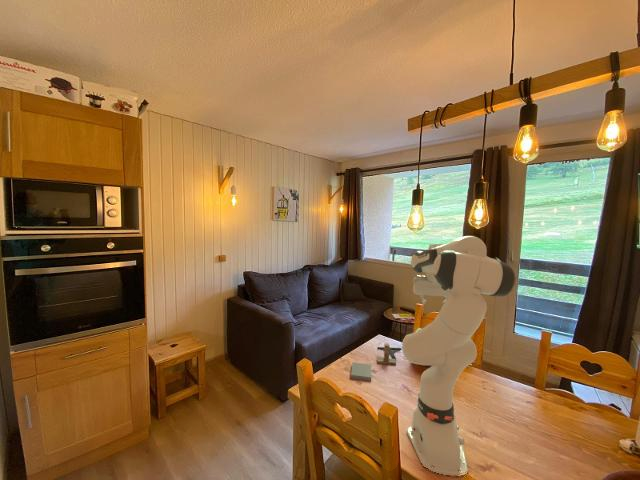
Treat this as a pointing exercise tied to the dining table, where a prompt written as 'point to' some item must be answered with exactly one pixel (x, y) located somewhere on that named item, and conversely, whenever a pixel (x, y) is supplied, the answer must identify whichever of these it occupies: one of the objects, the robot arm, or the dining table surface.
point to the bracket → (391, 351)
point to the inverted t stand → (386, 357)
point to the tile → (361, 371)
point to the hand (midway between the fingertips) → (434, 304)
